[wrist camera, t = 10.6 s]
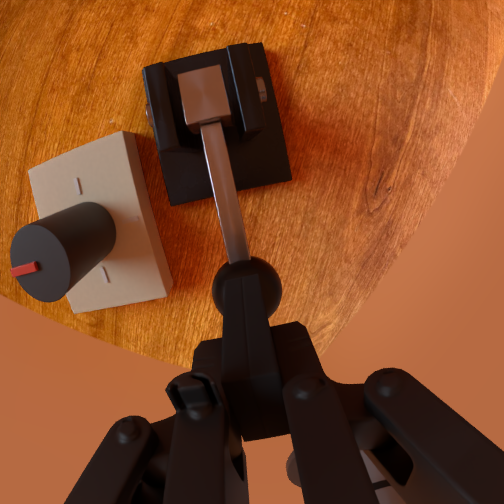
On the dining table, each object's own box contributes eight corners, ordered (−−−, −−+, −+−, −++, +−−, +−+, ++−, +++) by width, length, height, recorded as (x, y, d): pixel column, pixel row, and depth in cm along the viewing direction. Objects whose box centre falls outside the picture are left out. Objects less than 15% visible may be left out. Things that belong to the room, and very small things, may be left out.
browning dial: (107, 194, 22) (52, 215, 14) (123, 253, 23) (80, 299, 15) (59, 210, 22) (-2, 236, 14) (75, 265, 23) (25, 308, 15)
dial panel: (173, 282, 28) (167, 297, 24) (86, 300, 28) (73, 315, 25) (134, 132, 23) (121, 129, 20) (44, 167, 23) (26, 170, 20)
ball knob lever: (282, 303, 18) (292, 328, 14) (223, 315, 18) (219, 343, 14) (235, 82, 15) (234, 55, 12) (174, 96, 15) (159, 73, 12)
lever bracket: (289, 178, 25) (333, 198, 14) (174, 204, 25) (131, 242, 14) (260, 47, 22) (281, -22, 10) (146, 73, 22) (89, 24, 10)
